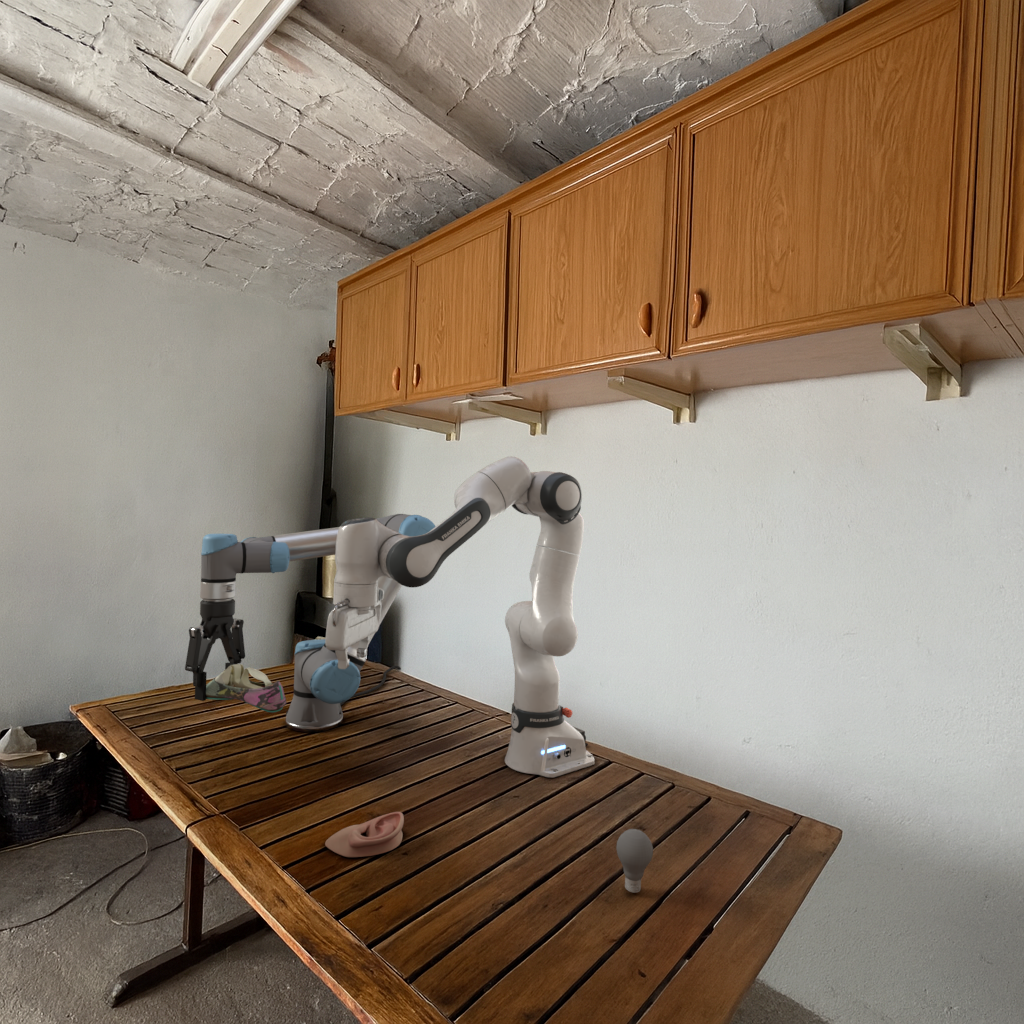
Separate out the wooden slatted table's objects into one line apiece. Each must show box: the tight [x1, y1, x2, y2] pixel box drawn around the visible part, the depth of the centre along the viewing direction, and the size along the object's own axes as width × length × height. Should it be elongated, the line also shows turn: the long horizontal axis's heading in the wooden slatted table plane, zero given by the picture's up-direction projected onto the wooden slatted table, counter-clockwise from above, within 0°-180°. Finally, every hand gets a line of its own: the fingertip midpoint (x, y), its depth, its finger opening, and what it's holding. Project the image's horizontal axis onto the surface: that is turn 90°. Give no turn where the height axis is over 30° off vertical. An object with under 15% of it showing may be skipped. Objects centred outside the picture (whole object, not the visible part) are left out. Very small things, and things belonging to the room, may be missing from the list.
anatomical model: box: [324, 811, 405, 858], centre depth 117 cm, size 13×4×12 cm
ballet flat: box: [206, 663, 287, 713], centre depth 147 cm, size 8×24×9 cm, turn 65°
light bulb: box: [615, 828, 654, 894], centre depth 106 cm, size 6×6×10 cm
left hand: (215, 694), depth 150 cm, fingers closed on ballet flat, 8 cm apart
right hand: (352, 662), depth 131 cm, fingers open, 8 cm apart
